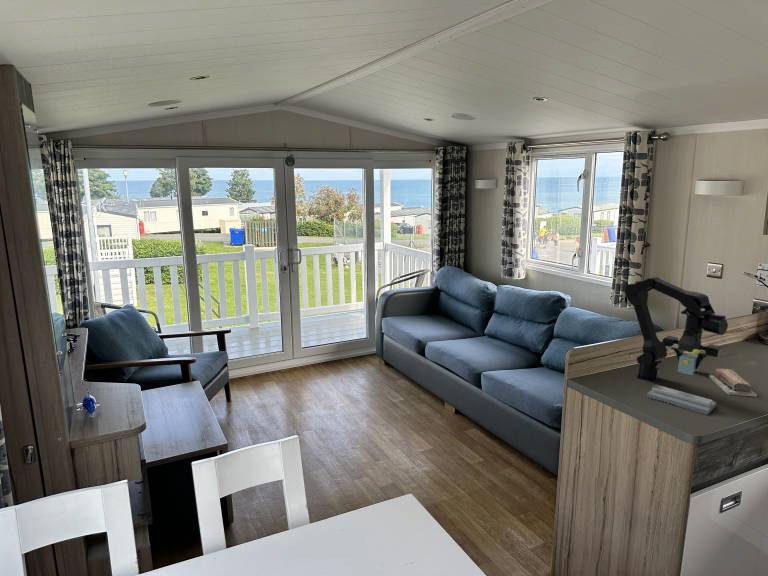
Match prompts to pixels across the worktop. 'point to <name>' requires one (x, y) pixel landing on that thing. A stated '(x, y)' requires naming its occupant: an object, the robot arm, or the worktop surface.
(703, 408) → the plate
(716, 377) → the packaged product
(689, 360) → the block
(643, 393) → the worktop surface
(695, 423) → the worktop surface
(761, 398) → the worktop surface
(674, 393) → the din rail
